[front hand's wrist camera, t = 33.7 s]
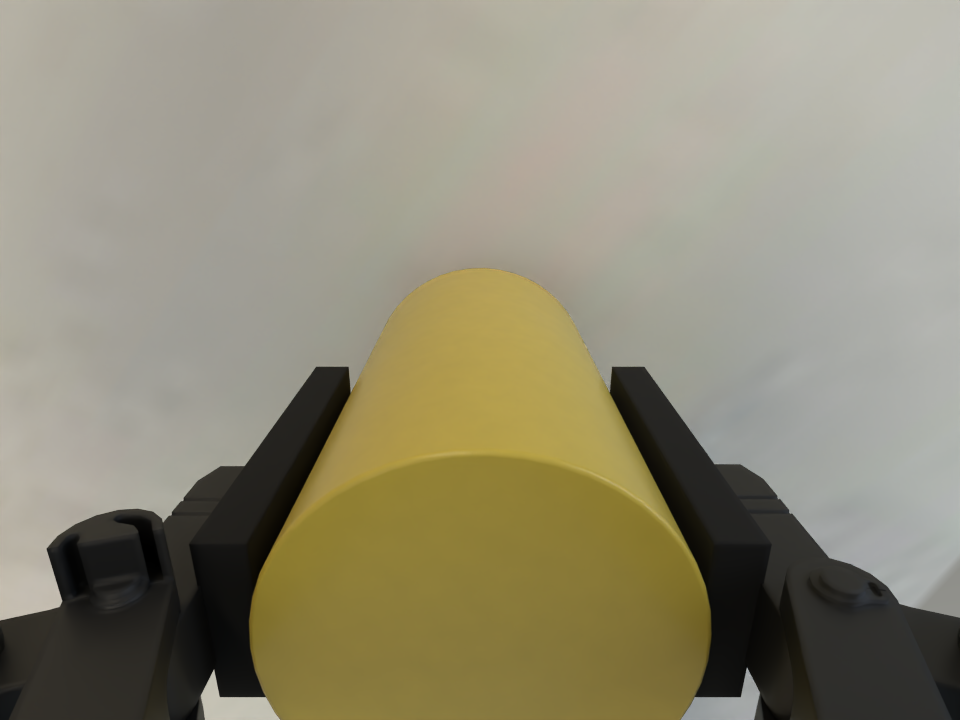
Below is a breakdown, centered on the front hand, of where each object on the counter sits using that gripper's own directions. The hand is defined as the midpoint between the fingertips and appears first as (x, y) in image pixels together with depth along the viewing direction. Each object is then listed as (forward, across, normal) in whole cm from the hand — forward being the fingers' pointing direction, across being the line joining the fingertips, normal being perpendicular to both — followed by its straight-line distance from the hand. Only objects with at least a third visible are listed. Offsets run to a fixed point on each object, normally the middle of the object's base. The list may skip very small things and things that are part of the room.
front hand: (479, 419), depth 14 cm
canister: (+4, 0, 0) cm, 4 cm away
